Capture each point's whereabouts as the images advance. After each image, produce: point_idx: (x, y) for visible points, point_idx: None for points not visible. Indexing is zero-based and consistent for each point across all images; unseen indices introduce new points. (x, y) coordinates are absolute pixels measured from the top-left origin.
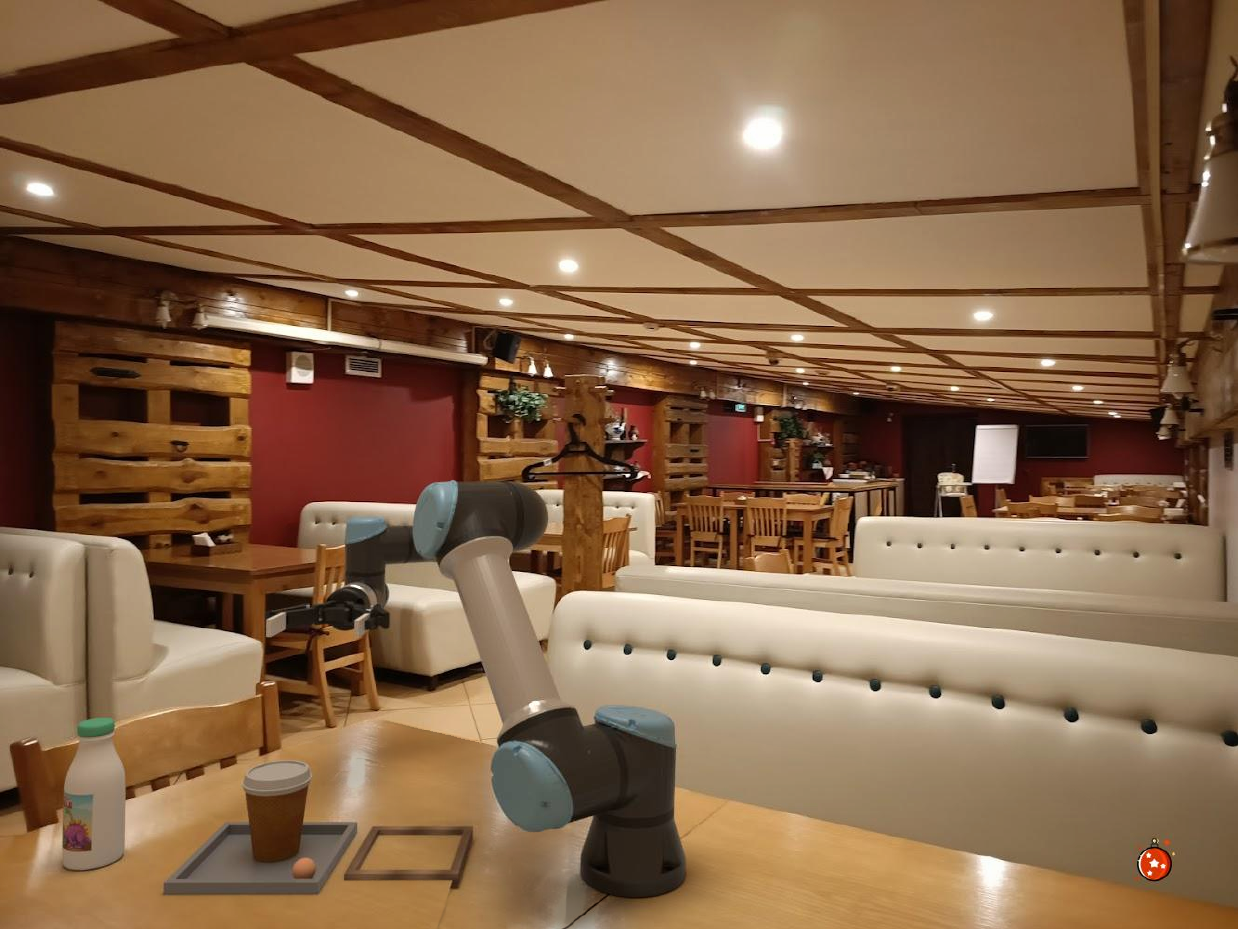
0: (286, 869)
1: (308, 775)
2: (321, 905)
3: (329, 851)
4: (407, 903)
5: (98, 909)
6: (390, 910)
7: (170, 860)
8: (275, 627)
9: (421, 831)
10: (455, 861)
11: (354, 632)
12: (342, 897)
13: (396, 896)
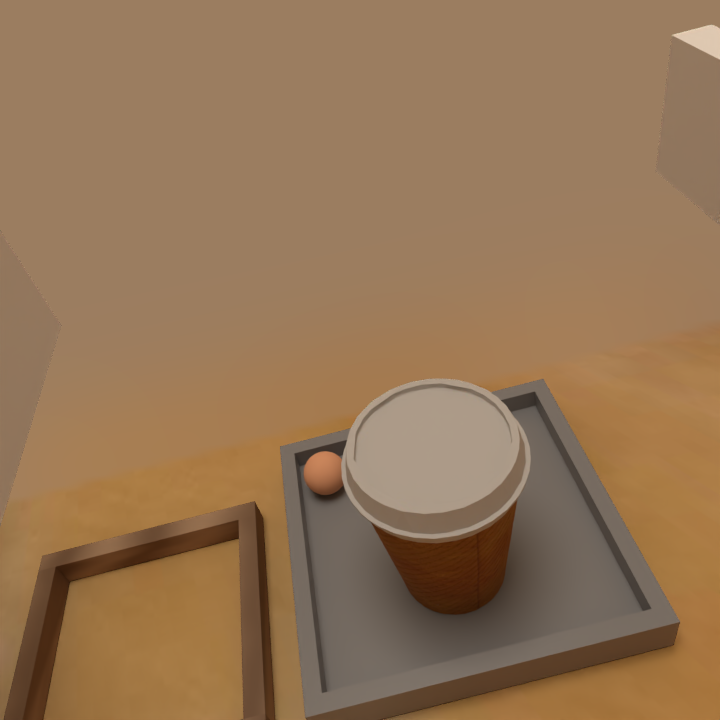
0: None
1: (346, 472)
2: (281, 466)
3: (336, 603)
4: (141, 507)
5: (630, 367)
6: (166, 483)
7: (694, 520)
8: (718, 157)
9: None
10: (43, 600)
11: (38, 295)
12: (255, 494)
13: (163, 520)
